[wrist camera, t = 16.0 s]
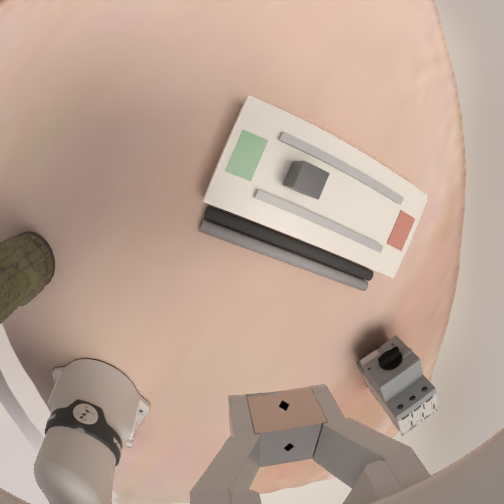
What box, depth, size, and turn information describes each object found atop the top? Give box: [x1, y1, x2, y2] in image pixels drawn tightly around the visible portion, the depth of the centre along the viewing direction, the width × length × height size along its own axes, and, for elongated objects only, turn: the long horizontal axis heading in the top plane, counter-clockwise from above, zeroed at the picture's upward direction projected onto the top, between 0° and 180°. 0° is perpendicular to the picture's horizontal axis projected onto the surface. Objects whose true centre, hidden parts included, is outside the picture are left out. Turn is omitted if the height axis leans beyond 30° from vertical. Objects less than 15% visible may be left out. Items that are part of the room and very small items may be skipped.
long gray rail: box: [199, 206, 373, 291], centre depth 40 cm, size 3×26×2 cm, turn 67°
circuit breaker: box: [357, 336, 437, 436], centre depth 42 cm, size 8×14×15 cm, turn 29°
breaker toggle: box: [283, 161, 330, 200], centre depth 30 cm, size 3×3×4 cm
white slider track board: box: [203, 95, 428, 278], centre depth 36 cm, size 13×28×6 cm, turn 67°
